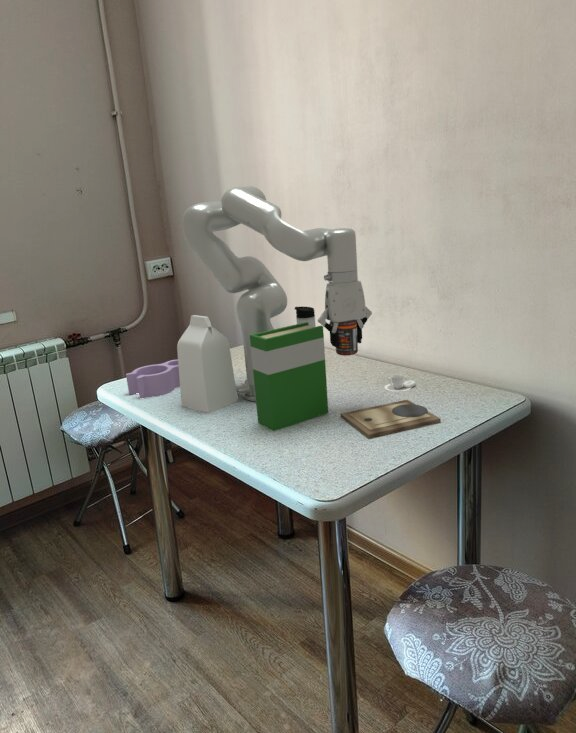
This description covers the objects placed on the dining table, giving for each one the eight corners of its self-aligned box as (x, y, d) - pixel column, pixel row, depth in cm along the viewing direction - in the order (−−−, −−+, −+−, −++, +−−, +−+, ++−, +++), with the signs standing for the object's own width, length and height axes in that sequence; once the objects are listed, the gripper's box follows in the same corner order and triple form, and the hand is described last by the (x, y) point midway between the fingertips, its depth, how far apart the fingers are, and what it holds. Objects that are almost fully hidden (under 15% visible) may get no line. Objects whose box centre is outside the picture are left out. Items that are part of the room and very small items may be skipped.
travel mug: (299, 361, 214) (295, 305, 208) (318, 361, 213) (315, 304, 207) (297, 367, 208) (293, 309, 202) (317, 366, 207) (313, 308, 201)
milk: (181, 405, 180) (169, 318, 172) (211, 393, 188) (201, 310, 180) (208, 413, 172) (197, 322, 165) (238, 400, 180) (229, 313, 173)
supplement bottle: (333, 356, 164) (330, 314, 160) (339, 349, 169) (336, 309, 166) (355, 356, 162) (352, 314, 158) (360, 350, 167) (358, 309, 164)
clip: (177, 376, 208) (174, 357, 206) (198, 383, 199) (196, 363, 197) (124, 393, 195) (121, 372, 193) (145, 401, 186) (142, 379, 184)
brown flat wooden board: (368, 438, 147) (368, 433, 147) (340, 417, 162) (340, 412, 161) (442, 421, 153) (442, 416, 153) (408, 402, 168) (408, 398, 168)
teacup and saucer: (417, 385, 182) (417, 372, 181) (410, 394, 175) (410, 380, 174) (388, 383, 186) (388, 370, 185) (380, 392, 179) (380, 378, 178)
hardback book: (312, 406, 171) (306, 322, 164) (328, 413, 165) (323, 326, 158) (258, 423, 162) (249, 334, 155) (273, 431, 156) (265, 339, 149)
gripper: (318, 283, 153) (322, 352, 158) (379, 274, 159) (381, 342, 164) (306, 279, 160) (311, 346, 165) (365, 271, 166) (368, 336, 171)
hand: (346, 343), depth 165 cm, fingers closed on supplement bottle, 6 cm apart
